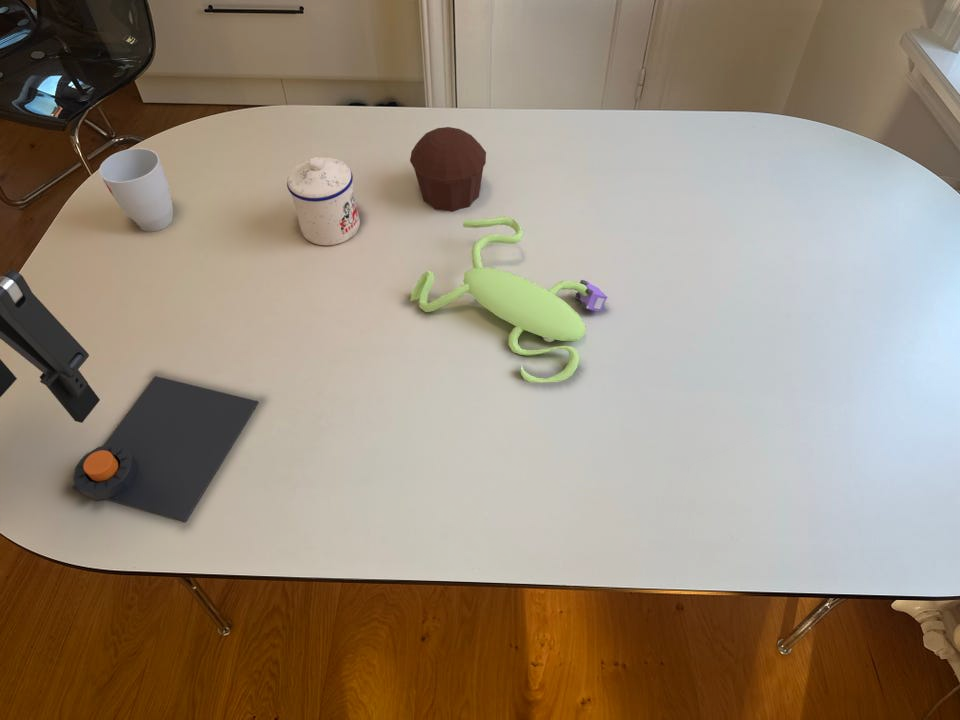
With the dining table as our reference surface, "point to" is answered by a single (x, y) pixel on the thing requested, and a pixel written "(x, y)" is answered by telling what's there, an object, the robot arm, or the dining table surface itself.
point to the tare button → (100, 465)
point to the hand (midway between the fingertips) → (45, 399)
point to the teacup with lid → (324, 200)
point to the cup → (139, 187)
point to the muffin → (448, 168)
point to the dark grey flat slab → (169, 448)
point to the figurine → (519, 300)
